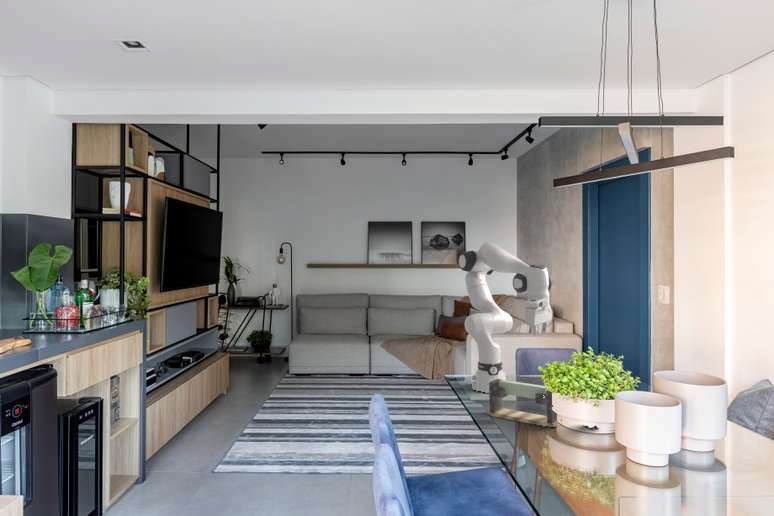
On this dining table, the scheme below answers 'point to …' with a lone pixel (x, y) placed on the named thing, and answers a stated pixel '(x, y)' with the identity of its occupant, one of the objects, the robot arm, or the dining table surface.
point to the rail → (522, 388)
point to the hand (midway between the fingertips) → (539, 333)
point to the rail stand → (497, 411)
